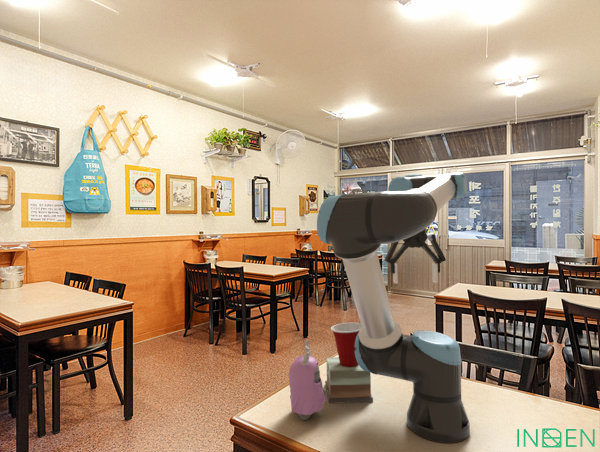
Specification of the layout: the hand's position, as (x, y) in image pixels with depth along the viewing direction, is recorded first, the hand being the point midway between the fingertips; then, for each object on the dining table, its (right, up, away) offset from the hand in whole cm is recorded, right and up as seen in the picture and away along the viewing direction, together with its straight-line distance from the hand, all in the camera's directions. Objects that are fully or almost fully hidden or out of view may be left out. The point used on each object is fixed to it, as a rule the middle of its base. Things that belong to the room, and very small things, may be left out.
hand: (415, 282), depth 125 cm
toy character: (-37, -33, -23) cm, 55 cm away
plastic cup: (-24, -24, -10) cm, 35 cm away
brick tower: (-24, -33, -10) cm, 42 cm away
